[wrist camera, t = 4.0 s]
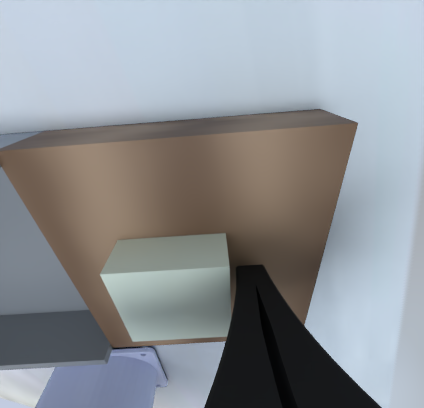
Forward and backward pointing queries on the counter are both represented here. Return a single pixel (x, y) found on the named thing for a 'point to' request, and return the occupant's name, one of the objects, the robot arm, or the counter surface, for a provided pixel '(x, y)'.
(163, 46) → the counter surface
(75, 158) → the plate
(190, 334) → the tile
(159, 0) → the counter surface
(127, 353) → the robot arm
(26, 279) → the box
